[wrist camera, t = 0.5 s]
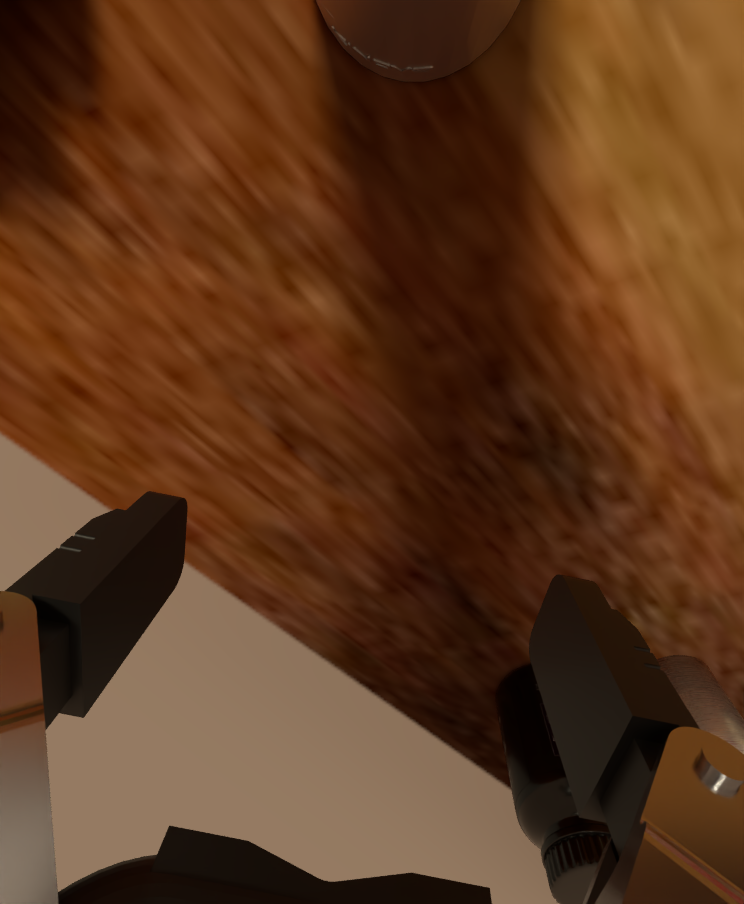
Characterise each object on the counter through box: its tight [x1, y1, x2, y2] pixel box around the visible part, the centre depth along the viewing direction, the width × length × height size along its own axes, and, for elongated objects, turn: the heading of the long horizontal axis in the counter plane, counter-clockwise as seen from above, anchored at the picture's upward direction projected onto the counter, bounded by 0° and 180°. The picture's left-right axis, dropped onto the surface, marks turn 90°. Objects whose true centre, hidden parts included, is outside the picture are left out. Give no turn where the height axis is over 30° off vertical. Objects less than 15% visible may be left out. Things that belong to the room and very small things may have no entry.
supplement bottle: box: [496, 664, 611, 904], centre depth 31 cm, size 7×7×12 cm
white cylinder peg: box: [657, 655, 744, 754], centre depth 30 cm, size 5×5×10 cm
